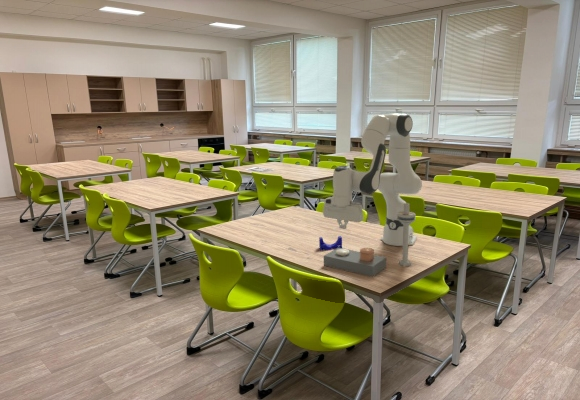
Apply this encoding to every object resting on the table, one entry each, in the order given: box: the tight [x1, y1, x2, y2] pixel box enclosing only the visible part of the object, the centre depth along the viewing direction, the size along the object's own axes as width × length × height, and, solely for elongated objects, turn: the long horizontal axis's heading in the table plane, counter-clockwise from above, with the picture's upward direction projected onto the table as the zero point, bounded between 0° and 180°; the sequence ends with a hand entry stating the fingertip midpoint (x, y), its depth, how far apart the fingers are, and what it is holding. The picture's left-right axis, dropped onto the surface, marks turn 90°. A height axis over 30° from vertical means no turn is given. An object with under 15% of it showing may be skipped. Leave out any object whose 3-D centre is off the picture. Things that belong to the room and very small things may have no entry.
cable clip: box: [318, 235, 343, 251], centre depth 224 cm, size 12×4×6 cm, turn 95°
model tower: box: [397, 202, 416, 268], centre depth 195 cm, size 8×8×30 cm
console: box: [323, 247, 387, 278], centre depth 197 cm, size 14×26×5 cm, turn 53°
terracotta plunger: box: [359, 247, 375, 262], centre depth 192 cm, size 6×6×6 cm
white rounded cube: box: [336, 248, 350, 257], centre depth 201 cm, size 6×6×6 cm
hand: (342, 228), depth 198 cm, fingers closed
